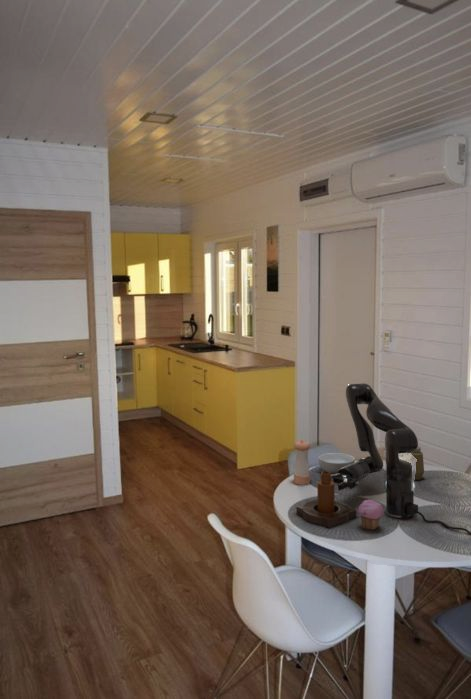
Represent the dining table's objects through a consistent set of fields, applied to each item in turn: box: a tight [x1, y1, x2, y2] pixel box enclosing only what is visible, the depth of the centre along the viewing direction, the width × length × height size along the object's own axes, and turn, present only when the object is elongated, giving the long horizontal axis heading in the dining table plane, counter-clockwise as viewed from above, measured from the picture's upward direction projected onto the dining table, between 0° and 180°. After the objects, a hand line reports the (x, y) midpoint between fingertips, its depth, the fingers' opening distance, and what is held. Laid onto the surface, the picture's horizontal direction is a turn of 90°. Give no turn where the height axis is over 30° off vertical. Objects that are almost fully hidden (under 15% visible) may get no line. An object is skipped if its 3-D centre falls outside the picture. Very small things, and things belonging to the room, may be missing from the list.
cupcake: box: [357, 499, 384, 531], centre depth 208 cm, size 9×9×10 cm
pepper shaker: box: [293, 439, 311, 486], centre depth 257 cm, size 7×7×19 cm
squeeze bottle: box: [410, 445, 425, 481], centre depth 260 cm, size 8×8×18 cm
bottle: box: [316, 470, 336, 513], centre depth 219 cm, size 6×6×17 cm
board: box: [296, 499, 357, 529], centre depth 220 cm, size 18×18×3 cm
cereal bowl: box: [318, 452, 356, 474], centre depth 270 cm, size 17×17×7 cm
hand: (329, 485), depth 220 cm, fingers open, 8 cm apart
